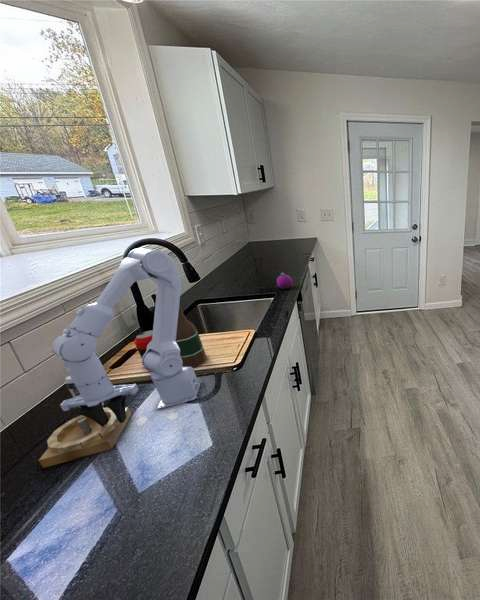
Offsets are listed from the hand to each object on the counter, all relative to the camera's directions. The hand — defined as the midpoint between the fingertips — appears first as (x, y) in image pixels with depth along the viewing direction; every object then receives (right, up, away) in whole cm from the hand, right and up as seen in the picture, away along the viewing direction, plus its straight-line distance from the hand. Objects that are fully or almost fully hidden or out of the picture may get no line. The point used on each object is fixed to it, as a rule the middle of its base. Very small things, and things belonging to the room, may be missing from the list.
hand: (114, 422), depth 81 cm
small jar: (-15, 0, +10) cm, 18 cm away
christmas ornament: (+9, +43, +94) cm, 103 cm away
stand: (-5, -4, -1) cm, 6 cm away
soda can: (-12, +9, +31) cm, 34 cm away
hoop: (-5, -1, -2) cm, 6 cm away
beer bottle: (+1, +9, +30) cm, 32 cm away
